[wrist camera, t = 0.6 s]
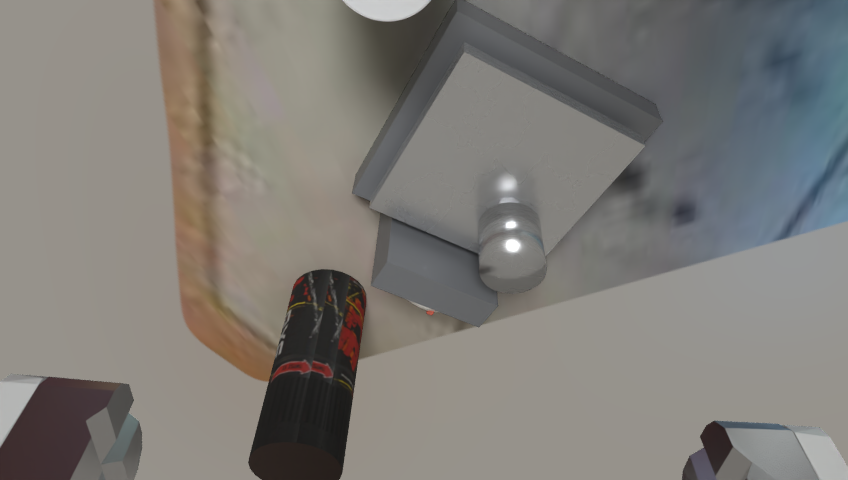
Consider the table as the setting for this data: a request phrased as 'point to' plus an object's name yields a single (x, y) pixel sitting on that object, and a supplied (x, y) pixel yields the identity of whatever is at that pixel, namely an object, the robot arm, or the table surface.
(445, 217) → the scale plate
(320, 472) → the deodorant
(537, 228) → the spacer
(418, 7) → the pill bottle
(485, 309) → the base
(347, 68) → the table surface
